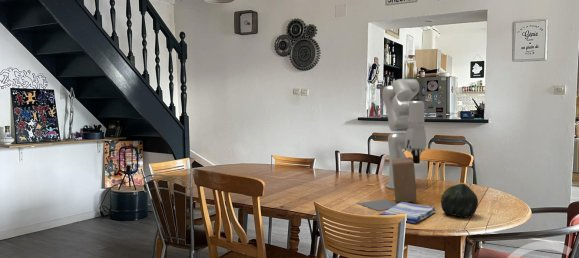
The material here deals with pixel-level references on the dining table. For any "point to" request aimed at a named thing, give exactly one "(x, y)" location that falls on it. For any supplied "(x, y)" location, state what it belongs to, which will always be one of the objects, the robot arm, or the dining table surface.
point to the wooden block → (404, 179)
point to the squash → (459, 201)
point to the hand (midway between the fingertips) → (416, 163)
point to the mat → (379, 204)
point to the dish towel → (411, 211)
